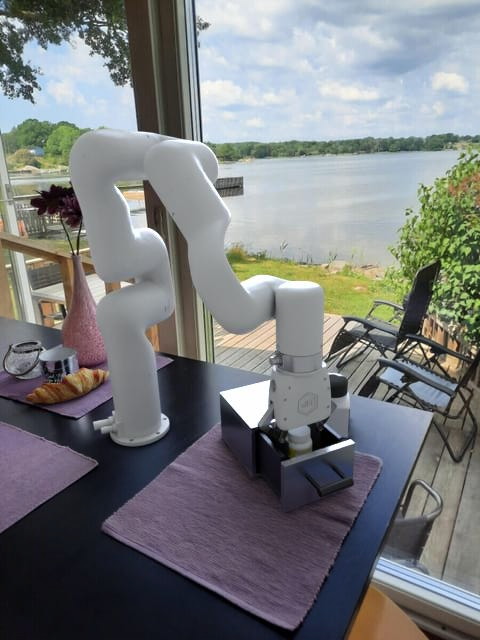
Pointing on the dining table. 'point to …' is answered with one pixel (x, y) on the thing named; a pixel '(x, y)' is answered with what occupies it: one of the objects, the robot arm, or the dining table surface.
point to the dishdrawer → (244, 421)
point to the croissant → (68, 386)
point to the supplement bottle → (299, 441)
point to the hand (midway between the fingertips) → (297, 451)
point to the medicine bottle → (339, 404)
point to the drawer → (306, 469)
